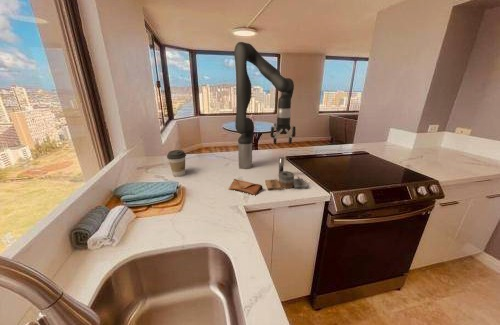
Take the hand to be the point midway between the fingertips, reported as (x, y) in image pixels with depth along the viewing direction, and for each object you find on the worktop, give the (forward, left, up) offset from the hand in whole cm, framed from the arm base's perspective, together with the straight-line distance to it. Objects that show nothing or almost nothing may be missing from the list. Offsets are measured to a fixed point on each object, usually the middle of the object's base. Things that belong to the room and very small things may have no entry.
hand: (282, 144), depth 124 cm
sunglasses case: (-24, -15, -21) cm, 35 cm away
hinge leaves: (0, -13, -21) cm, 24 cm away
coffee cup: (-64, +8, -21) cm, 68 cm away
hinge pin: (0, 0, -21) cm, 21 cm away
